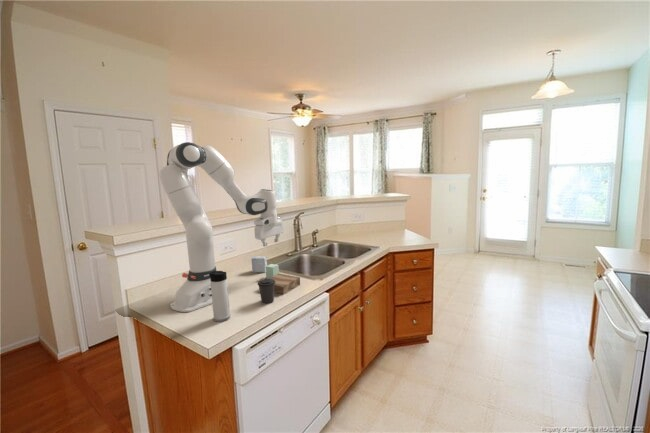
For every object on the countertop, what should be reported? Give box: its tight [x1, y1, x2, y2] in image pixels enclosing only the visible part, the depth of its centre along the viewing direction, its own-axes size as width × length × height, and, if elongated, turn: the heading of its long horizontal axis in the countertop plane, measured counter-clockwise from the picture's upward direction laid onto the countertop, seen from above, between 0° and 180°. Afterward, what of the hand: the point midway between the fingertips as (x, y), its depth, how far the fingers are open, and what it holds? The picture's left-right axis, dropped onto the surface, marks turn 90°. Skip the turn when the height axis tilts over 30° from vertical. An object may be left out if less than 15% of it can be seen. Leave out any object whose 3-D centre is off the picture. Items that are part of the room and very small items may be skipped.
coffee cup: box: [257, 278, 276, 305], centre depth 135 cm, size 8×8×10 cm
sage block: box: [265, 263, 280, 279], centre depth 166 cm, size 5×5×7 cm
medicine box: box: [251, 256, 268, 273], centre depth 177 cm, size 8×4×9 cm, turn 84°
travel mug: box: [209, 270, 231, 323], centre depth 120 cm, size 6×7×20 cm
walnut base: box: [268, 272, 301, 296], centre depth 152 cm, size 14×14×4 cm
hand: (270, 244), depth 164 cm, fingers open, 8 cm apart
